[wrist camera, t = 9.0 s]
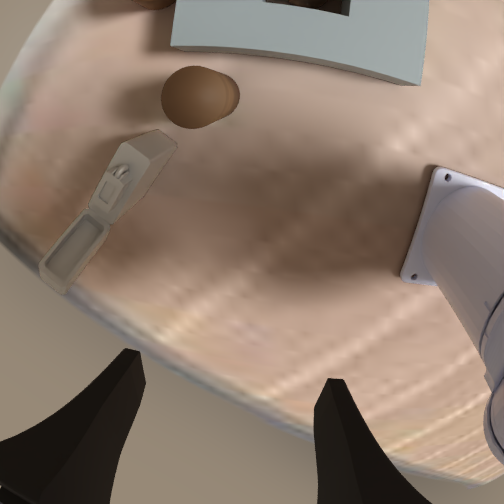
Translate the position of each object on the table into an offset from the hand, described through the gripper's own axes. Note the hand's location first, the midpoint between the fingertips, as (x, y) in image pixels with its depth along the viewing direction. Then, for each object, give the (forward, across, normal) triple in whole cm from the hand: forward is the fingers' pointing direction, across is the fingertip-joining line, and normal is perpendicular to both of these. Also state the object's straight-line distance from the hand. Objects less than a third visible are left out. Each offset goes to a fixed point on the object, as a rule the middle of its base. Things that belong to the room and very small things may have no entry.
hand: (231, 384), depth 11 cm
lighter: (+10, +8, -4) cm, 13 cm away
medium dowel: (+10, +3, -10) cm, 14 cm away
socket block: (+10, -1, -16) cm, 19 cm away
